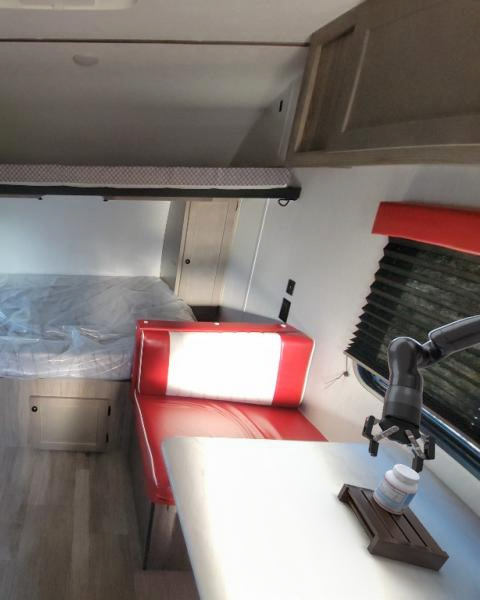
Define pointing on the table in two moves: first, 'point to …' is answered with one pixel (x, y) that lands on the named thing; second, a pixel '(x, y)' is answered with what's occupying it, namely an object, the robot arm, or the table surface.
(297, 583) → the table surface
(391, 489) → the pill bottle
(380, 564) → the table surface
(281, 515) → the table surface
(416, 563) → the rack
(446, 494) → the table surface
